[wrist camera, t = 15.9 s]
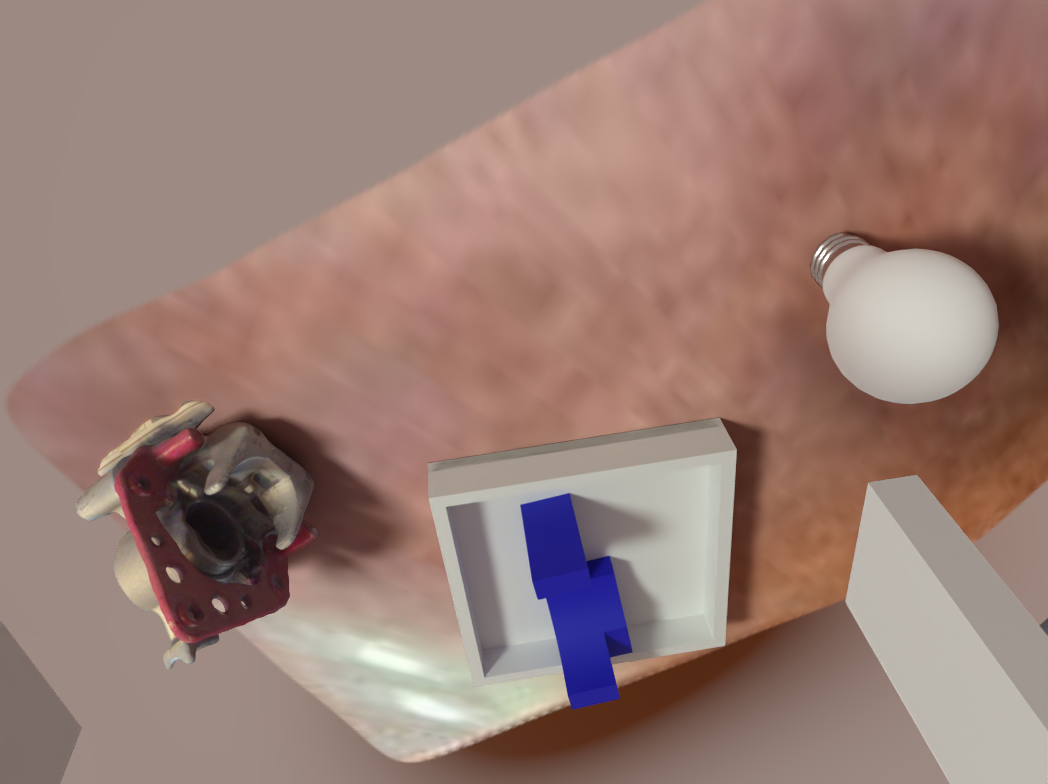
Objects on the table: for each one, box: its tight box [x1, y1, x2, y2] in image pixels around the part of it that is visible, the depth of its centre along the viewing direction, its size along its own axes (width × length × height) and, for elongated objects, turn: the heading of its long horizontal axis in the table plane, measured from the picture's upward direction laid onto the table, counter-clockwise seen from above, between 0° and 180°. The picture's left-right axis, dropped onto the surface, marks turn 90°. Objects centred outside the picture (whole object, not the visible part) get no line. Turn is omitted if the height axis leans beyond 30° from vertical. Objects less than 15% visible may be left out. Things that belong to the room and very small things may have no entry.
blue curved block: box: [520, 493, 633, 709], centre depth 47 cm, size 12×4×6 cm, turn 12°
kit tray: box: [428, 418, 737, 687], centre depth 49 cm, size 17×17×3 cm
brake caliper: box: [75, 401, 319, 669], centre depth 41 cm, size 11×11×12 cm
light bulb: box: [810, 232, 999, 404], centre depth 35 cm, size 7×7×11 cm
